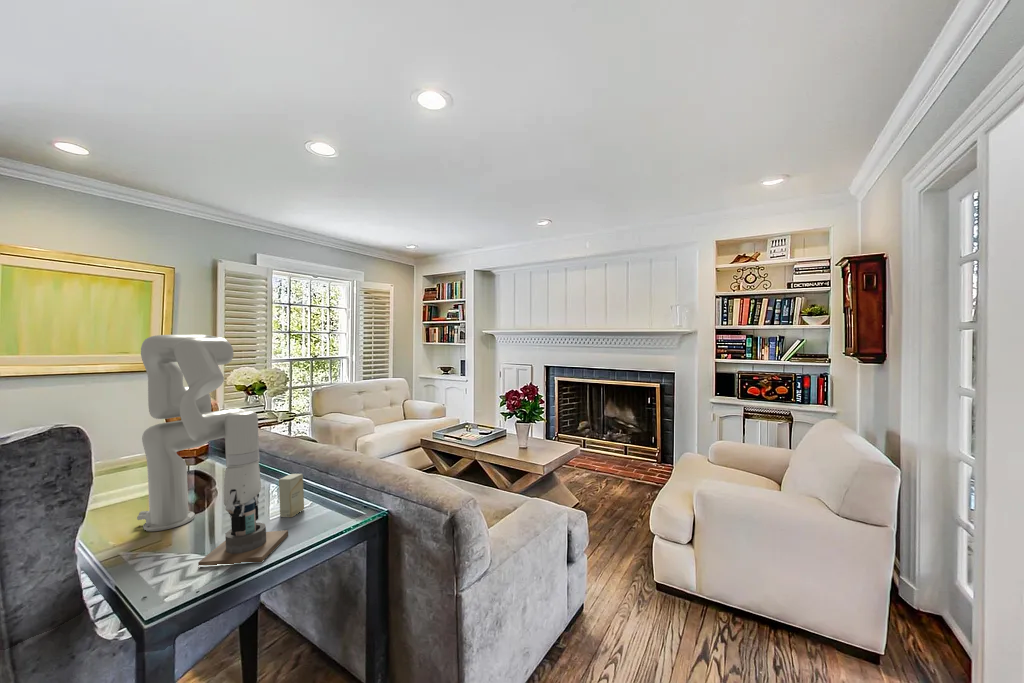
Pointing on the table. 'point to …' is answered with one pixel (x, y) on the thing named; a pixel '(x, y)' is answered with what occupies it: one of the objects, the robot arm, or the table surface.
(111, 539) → the table surface
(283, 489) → the skincare box
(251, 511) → the beer can
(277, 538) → the can holder
